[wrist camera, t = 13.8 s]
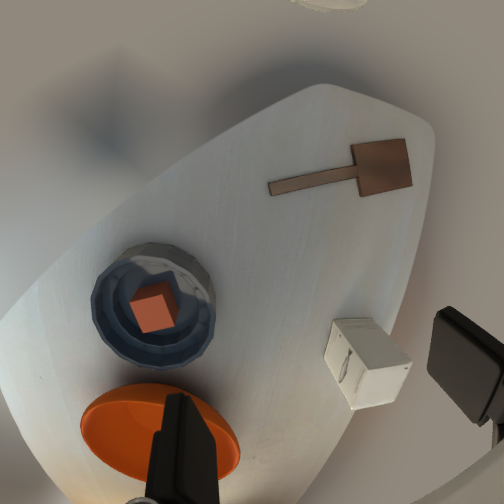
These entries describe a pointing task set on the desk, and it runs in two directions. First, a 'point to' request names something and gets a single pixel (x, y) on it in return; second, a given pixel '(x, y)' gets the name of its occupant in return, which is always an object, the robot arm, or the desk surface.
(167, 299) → the block
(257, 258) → the desk surface
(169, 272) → the faceted gray tray
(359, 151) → the brown paddle
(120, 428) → the bowl
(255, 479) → the desk surface
